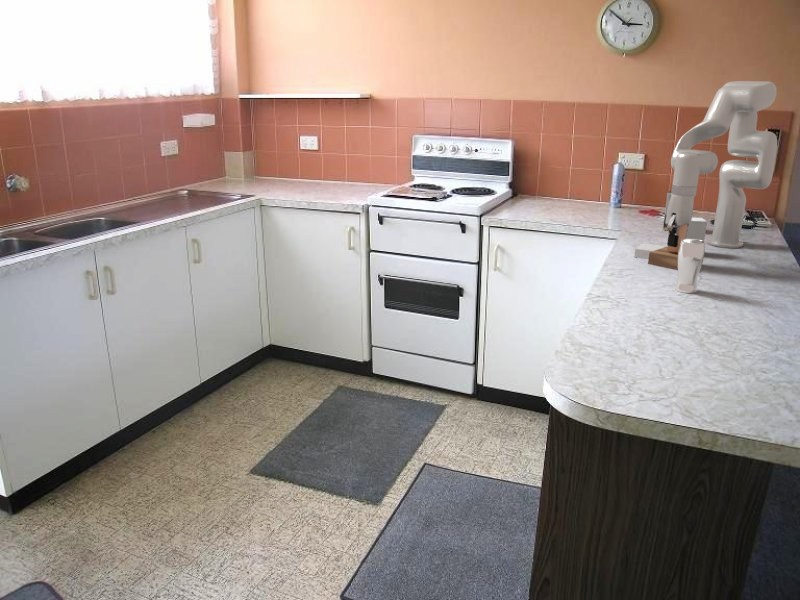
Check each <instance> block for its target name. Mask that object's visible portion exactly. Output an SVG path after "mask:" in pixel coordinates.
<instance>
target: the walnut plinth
mask: <svg viewBox="0 0 800 600" xmlns="http://www.w3.org/2000/svg"><path fill="white" fill-rule="evenodd" d="M667 247H668V246H667ZM667 247H664V248H661V249H658V250H655V251H652V252H649V259H647V261H648V262H647V264H648V265H650V266H651V265H652V266H656V267H662V268H665V269H666V268H667V269H672V270H676V271H678V252H671V251H668V250H667Z"/></svg>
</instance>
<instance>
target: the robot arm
mask: <svg viewBox="0 0 800 600" xmlns="http://www.w3.org/2000/svg"><path fill="white" fill-rule="evenodd" d="M777 89H778V88H777V86H776V85H775V83H774V82H772V81H766V80H765V81H763V80H762V81H755V80H754V81H753V80H752V81H750V80H737V81H736V80H735V81H729V82H726V83H725V84H723V86H722V87H721V88H719V89H718V90H717V91H716V93H715V95H714V97H713V100H712V101H711V103H710V105H709V107H708V110H707V112H706V114H705V116H704V119H703V120H702V121H701V122H699V123H698V124H696V125H695V126H693V127H692V128H691V129H689V130H687V131H686V132H685V133H684V134H682V136H681V137H680V139H679V140H678V141H677V144H676V145H675V147H674V149H673V152H672V155H671V158H670V165H671V168H672V169H673V171H674V172H673V178H672V185H671V190H672V191H671V195H672V196H671V198H670V202H669V206H668V210H667V216H666V222H665V223H666V225H667V227H668V230H669V231H667V232H668V236H667V237H668V238H667V243H666V244H667V245H666V246H667V247H668V246H671V247H677V245H678V238H679V235H678V232H679V228H680V226H683V225H686V224H688V226H689V223H690V222H691V220H692V217H693V213H694V212H693V211H694V202H695V197H696V196H697V189H698V183H699V177H700V176H699V175H709V174H711V173H713V172H714V171H715V170H716V169H717V167H718V164H719V158H718V156H717V153H715V152H713V151H709V150H703V149H701V150H699V149H692V148H693V147H695V146H696V145H697V144H699V143H702V142H705V141H707V140H711V139H714V138H717V137H720V136H723V135H725V134H726V133H727V132H728V139H727V153H728V154H729V155H730V156H734V157H739V158H748V159H749V158H750V159H757V161H750V160H741V159H731V160H726V161H725V162H723V163H722V164H721V165H720V168H719V175H718V177H719V186H718V187H719V188H718V196H717V204H716V209H715V210H716V211H715V217H714V223H713V229H712V235H711V237H709V238H708V239H706V243H707V244H708V245H710V246H714V247H719V248H726V249H737V248H742V247H743V246H744V242H743V241H741V240H740V239H741V236H742V232H741V231H742V226H743V222H744V221H743V220H744V217H745V216H744V215H745V210H746V206H747V205H746V204H747V196H746V194H745V192H744V190H743V188H746V189H752V190H753V189H754V190H764V189H767V188H769V186H770V185H771V183H772V180H773V175H774V170H775V163H776V157H777V150H778V139H777V138H778V137H777V135H776V134H775V133H774V132H772V131H768V130H757V124H758V112H760V111H763V110H764V109H767V108H769V107H771V106H772V104H773V103H774V102H775V99H776V97H777V93H778V92H777ZM728 130H729V131H728ZM674 224H676V225H677V226H676V225H674ZM688 226H687V231H688ZM673 227H675V228H676V230H675V228H673ZM686 234H687V233H686Z"/></svg>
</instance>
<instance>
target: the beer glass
mask: <svg viewBox="0 0 800 600" xmlns="http://www.w3.org/2000/svg"><path fill="white" fill-rule="evenodd" d="M705 250H706V241H705V240H704V241H703V240H699V239H690V238H686V239H681V243H680V247H679V252H678V270H677V281H676V284H675V286H674V290H675V291H677V292H679V293H682V292H683V294H695V292H696V293H697V291H698V286H697V285H698V283H697V282H698V277H699V274H700V272H701V268H702V267H703V262H704V258H705Z"/></svg>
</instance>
